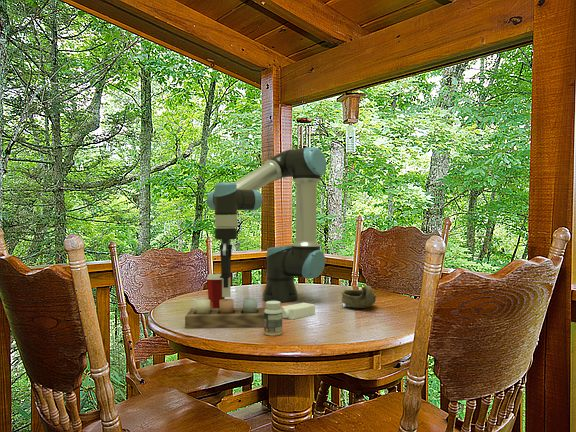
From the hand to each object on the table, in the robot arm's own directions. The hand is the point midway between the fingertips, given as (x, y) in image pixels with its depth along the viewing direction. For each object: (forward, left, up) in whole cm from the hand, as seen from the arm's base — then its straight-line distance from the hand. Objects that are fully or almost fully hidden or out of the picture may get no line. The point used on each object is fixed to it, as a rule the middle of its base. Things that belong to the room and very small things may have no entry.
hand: (226, 296), depth 157 cm
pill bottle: (-16, +14, -10) cm, 23 cm away
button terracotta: (0, 0, -6) cm, 6 cm away
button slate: (-8, 0, -6) cm, 10 cm away
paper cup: (+6, -20, -9) cm, 23 cm away
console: (0, 0, -9) cm, 9 cm away
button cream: (+8, 0, -6) cm, 10 cm away
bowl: (-50, -21, -10) cm, 55 cm away
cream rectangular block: (-25, -10, -10) cm, 28 cm away
